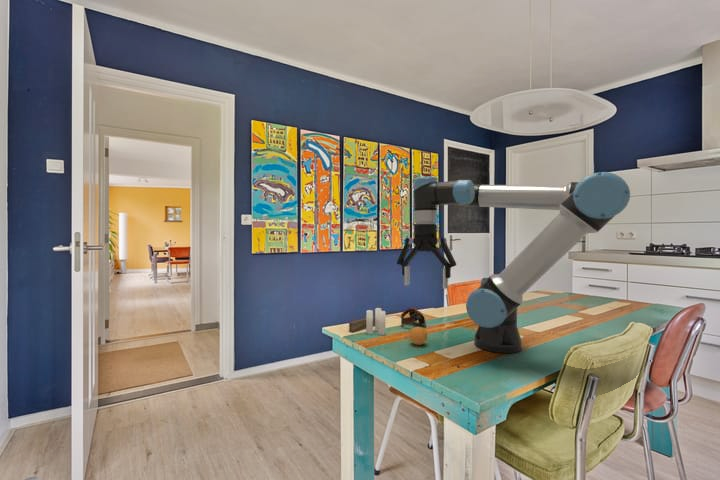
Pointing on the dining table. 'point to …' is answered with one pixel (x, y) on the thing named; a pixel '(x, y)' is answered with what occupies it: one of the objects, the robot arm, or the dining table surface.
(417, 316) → the pottery mug
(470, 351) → the dining table surface
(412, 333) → the ball
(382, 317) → the front pin
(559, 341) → the dining table surface
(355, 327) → the back wall
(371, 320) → the pin
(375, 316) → the pin
